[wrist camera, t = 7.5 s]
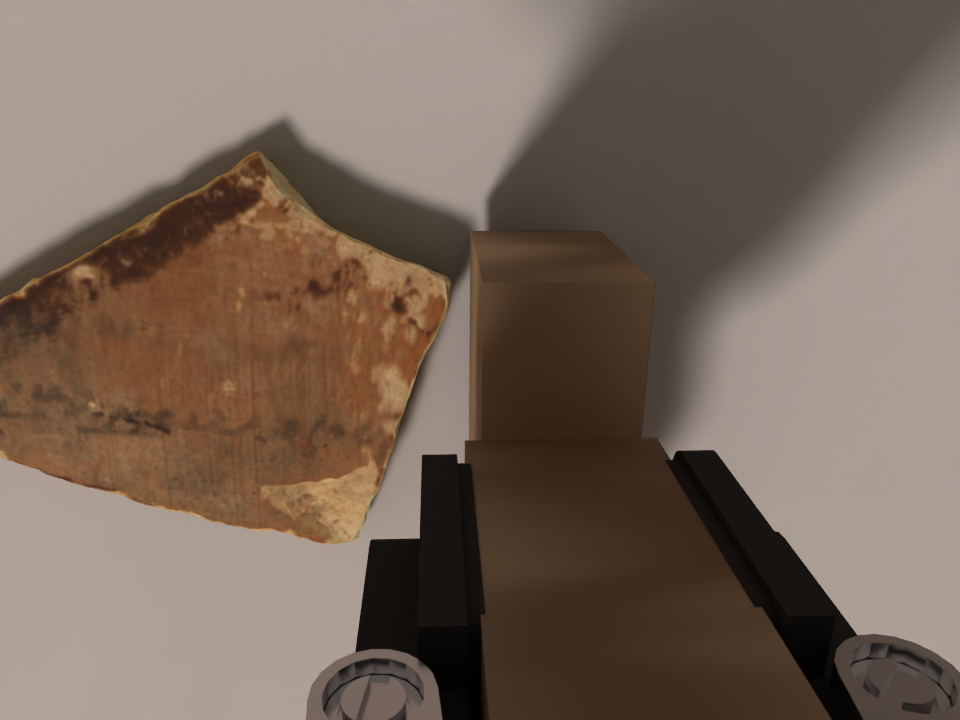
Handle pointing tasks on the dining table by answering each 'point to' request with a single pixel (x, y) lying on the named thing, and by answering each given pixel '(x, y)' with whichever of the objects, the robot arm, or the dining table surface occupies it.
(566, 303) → the wooden step block
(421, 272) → the shard
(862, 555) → the dining table surface
